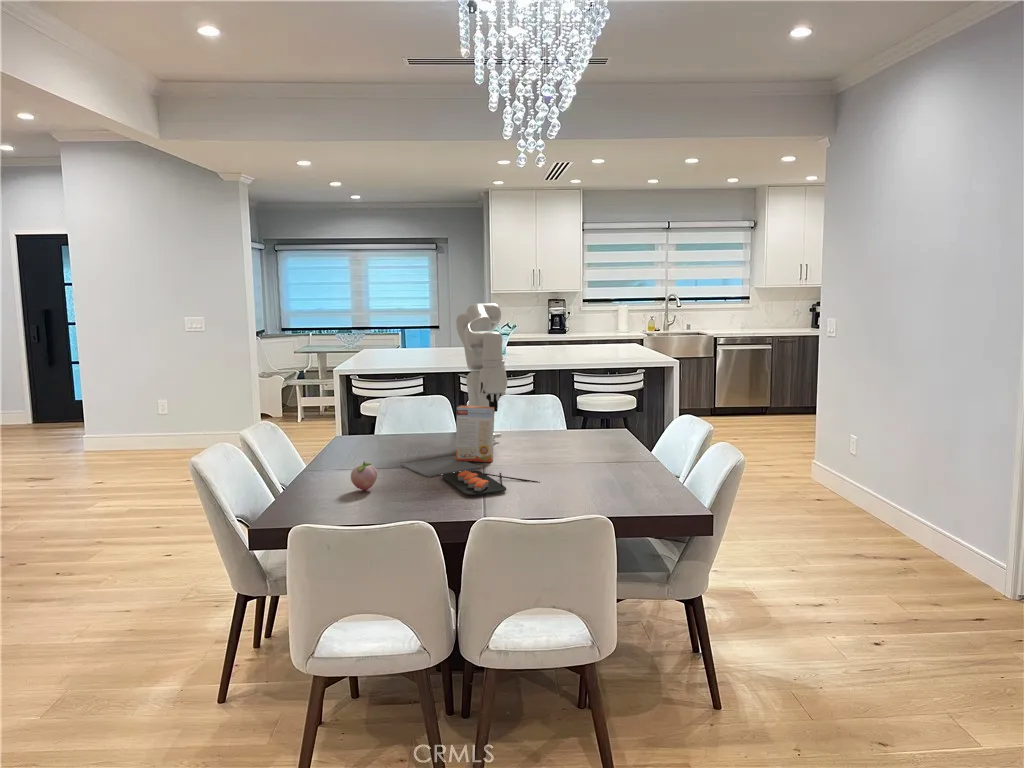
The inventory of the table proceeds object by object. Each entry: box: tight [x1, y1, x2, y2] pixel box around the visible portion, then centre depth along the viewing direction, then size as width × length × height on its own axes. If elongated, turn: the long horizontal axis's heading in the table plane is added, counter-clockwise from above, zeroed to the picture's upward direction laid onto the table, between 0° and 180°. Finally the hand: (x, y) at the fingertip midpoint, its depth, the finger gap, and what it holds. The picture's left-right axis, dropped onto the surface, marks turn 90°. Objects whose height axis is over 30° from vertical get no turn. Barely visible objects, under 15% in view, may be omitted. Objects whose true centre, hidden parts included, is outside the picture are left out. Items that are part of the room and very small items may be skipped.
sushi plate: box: [441, 470, 539, 496], centre depth 239 cm, size 29×30×4 cm
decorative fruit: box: [350, 461, 378, 492], centre depth 230 cm, size 9×8×10 cm
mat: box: [400, 455, 482, 478], centre depth 262 cm, size 22×22×1 cm
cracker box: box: [455, 405, 495, 463], centre depth 270 cm, size 14×6×21 cm, turn 84°
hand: (493, 411), depth 273 cm, fingers closed
